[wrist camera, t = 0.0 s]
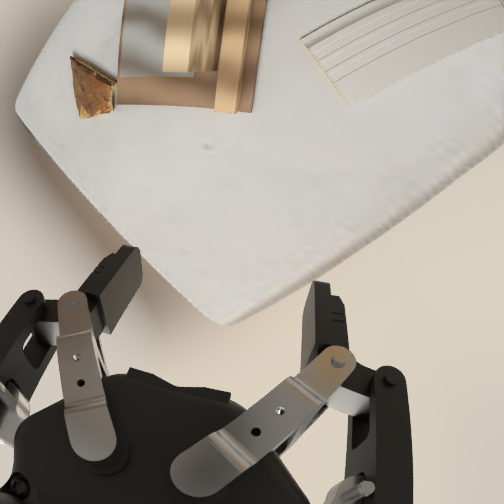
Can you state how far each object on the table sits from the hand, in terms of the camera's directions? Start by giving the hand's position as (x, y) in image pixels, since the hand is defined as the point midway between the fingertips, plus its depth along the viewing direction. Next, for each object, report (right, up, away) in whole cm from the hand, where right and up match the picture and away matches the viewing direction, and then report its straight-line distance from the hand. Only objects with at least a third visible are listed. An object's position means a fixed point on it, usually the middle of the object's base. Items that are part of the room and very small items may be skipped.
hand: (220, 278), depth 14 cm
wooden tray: (-7, +30, +16) cm, 35 cm away
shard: (-23, +25, +24) cm, 41 cm away
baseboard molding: (+22, +31, +12) cm, 40 cm away
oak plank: (-3, +29, +15) cm, 33 cm away
